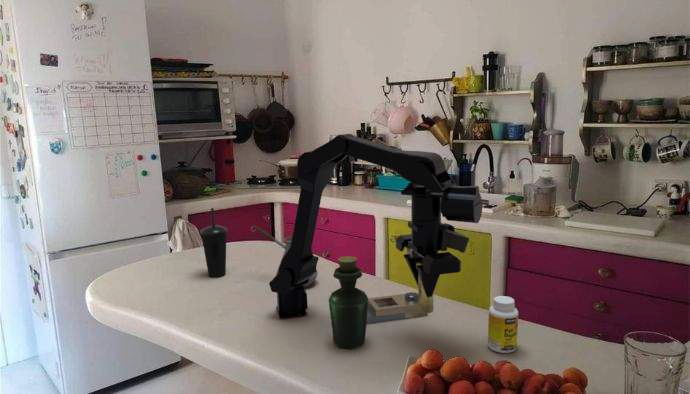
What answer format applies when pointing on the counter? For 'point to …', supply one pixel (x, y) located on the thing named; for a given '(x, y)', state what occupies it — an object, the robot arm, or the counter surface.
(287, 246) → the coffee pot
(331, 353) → the counter surface
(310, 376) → the counter surface
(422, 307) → the pin
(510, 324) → the supplement bottle
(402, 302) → the knobbed window plate
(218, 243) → the drinking cup
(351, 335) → the potion bottle
